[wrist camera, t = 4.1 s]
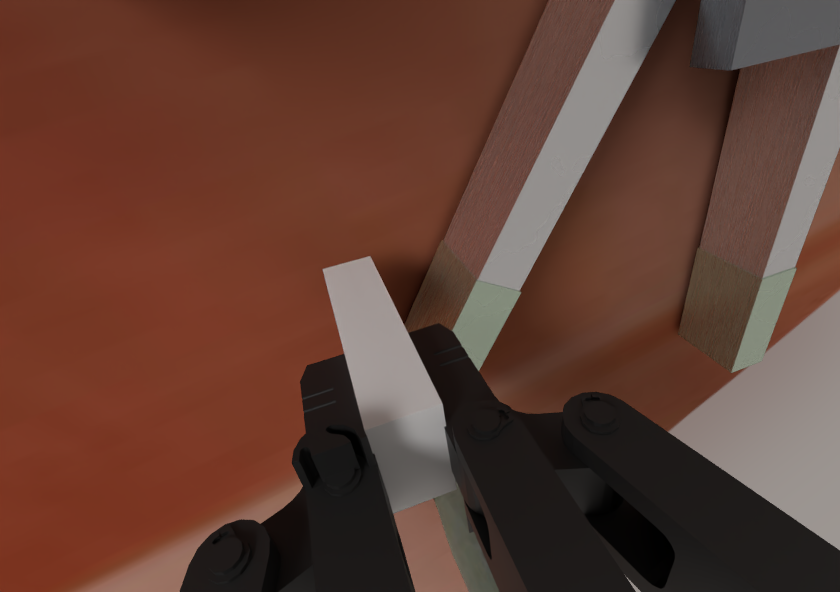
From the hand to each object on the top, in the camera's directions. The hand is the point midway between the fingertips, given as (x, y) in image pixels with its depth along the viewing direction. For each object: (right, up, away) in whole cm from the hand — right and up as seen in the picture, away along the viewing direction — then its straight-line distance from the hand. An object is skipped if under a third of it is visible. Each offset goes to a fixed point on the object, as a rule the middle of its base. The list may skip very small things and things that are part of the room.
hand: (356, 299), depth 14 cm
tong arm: (+5, +5, 0) cm, 7 cm away
